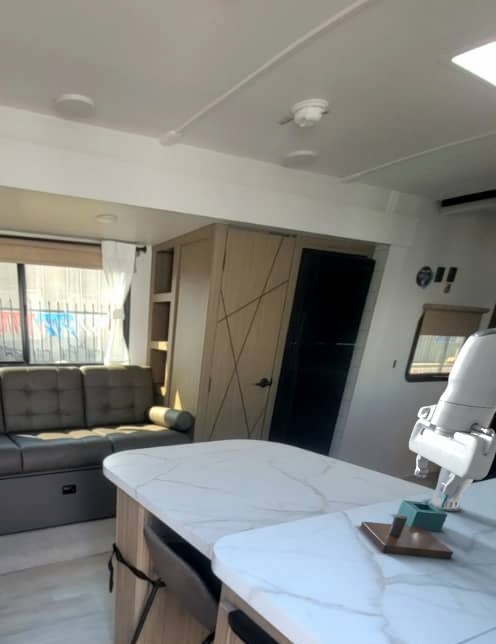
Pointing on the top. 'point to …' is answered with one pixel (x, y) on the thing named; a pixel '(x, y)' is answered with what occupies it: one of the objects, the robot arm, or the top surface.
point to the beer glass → (447, 500)
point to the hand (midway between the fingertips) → (432, 484)
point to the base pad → (405, 539)
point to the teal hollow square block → (422, 515)
